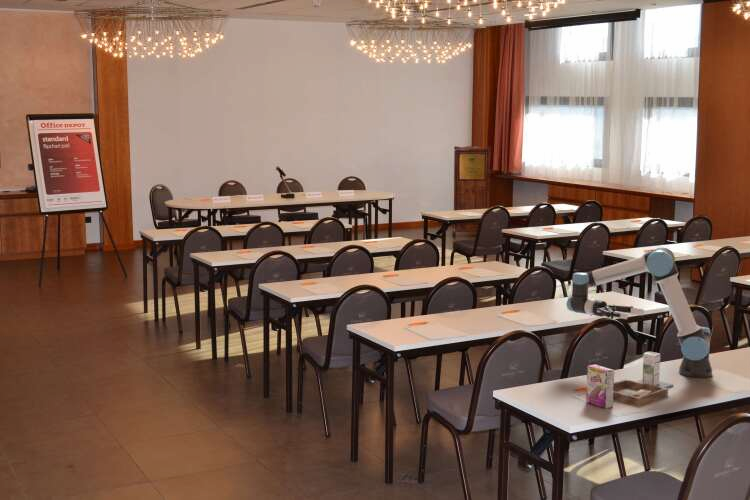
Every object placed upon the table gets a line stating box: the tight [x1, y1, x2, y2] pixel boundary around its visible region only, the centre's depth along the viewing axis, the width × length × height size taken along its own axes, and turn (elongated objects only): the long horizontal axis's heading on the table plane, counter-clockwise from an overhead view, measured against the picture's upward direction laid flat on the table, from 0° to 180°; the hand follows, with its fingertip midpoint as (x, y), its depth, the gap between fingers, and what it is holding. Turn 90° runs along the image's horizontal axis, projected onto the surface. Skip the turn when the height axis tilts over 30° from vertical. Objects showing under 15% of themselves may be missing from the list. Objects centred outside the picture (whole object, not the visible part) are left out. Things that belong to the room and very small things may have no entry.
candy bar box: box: [585, 364, 615, 410], centre depth 388 cm, size 11×5×16 cm, turn 33°
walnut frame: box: [613, 378, 669, 407], centre depth 402 cm, size 22×23×4 cm
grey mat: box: [637, 378, 674, 389], centre depth 418 cm, size 14×14×1 cm
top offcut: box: [631, 389, 652, 397], centre depth 398 cm, size 5×10×1 cm, turn 143°
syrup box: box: [642, 351, 661, 386], centre depth 417 cm, size 6×6×14 cm
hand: (635, 314), depth 422 cm, fingers open, 13 cm apart
